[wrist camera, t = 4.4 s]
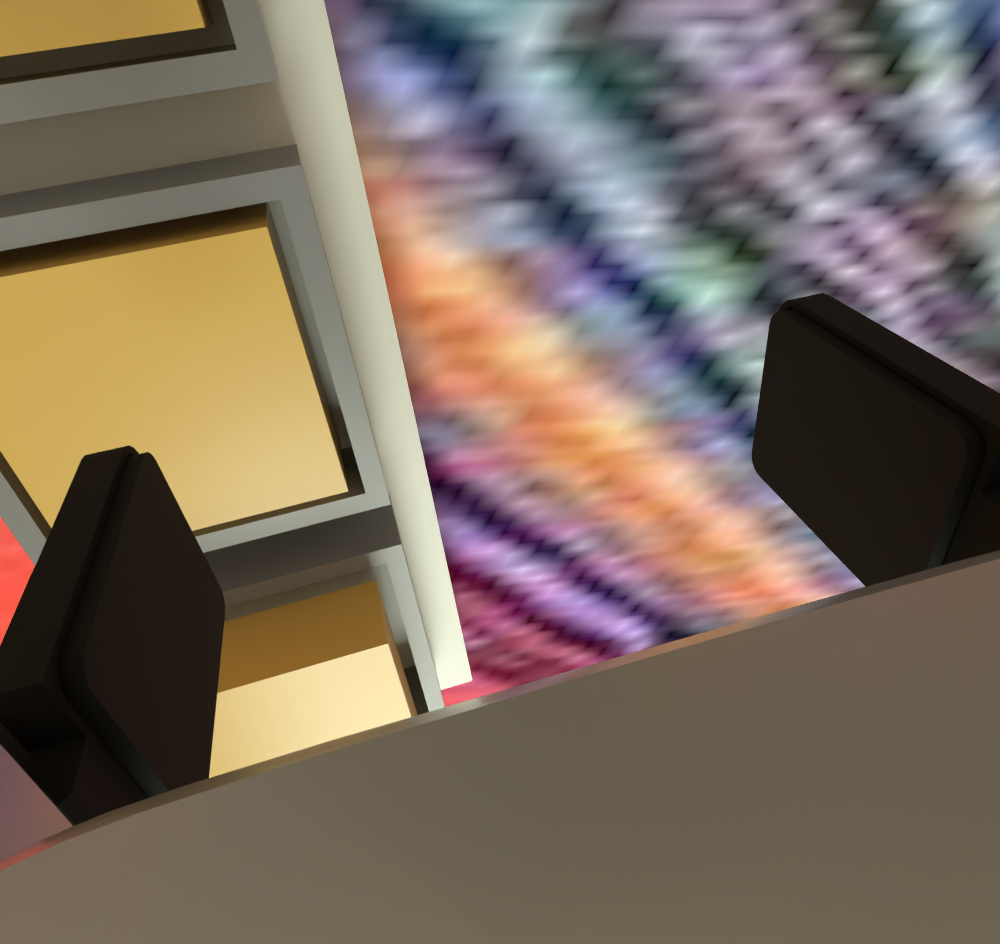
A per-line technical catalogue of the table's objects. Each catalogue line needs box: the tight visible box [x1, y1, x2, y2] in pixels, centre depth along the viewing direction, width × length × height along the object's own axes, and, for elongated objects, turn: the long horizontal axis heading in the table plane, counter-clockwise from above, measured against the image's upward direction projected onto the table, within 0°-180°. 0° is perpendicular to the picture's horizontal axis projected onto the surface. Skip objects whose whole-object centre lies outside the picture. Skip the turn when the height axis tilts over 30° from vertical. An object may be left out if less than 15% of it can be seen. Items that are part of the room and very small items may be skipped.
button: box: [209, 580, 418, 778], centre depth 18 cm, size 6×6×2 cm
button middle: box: [0, 202, 348, 531], centre depth 14 cm, size 6×6×2 cm
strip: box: [0, 0, 472, 715], centre depth 18 cm, size 10×35×5 cm, turn 7°
